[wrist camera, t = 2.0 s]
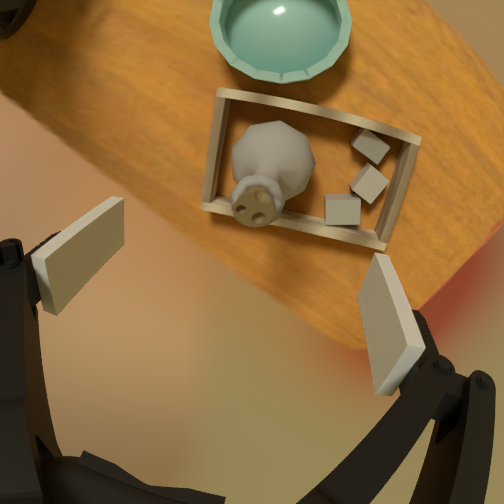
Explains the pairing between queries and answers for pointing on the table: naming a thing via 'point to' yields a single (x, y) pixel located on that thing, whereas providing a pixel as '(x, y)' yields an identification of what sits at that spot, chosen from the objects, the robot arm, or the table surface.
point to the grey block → (342, 209)
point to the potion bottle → (268, 171)
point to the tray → (299, 220)
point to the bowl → (281, 36)
